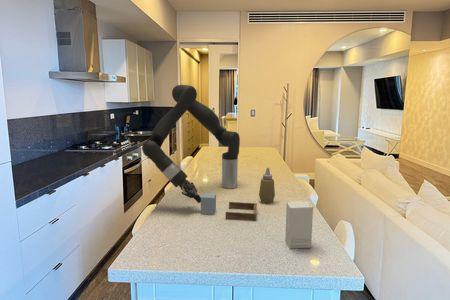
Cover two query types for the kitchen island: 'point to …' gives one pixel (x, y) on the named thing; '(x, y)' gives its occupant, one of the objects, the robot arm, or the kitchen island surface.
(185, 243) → the kitchen island surface
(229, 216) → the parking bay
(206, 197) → the slate block
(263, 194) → the squeeze bottle
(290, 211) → the skincare box
